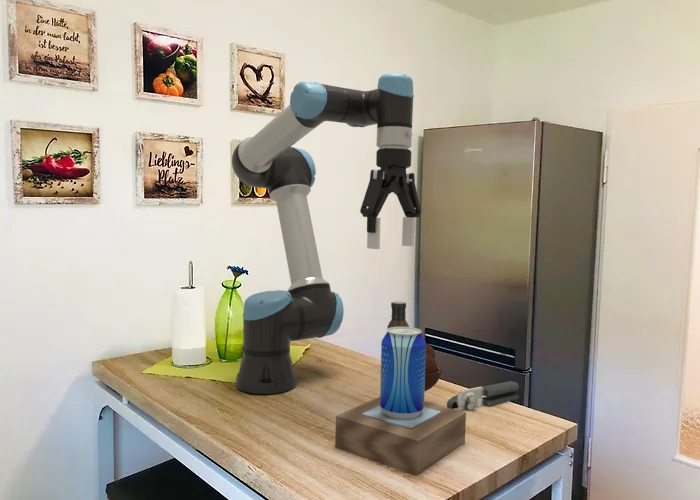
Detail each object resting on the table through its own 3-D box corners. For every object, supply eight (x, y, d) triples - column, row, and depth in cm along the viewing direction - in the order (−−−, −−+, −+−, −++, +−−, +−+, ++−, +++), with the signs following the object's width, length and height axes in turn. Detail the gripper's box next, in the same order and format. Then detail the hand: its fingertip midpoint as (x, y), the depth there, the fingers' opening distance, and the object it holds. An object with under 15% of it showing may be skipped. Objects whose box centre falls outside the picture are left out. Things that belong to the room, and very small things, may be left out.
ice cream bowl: (390, 400, 136) (392, 337, 135) (438, 401, 136) (440, 339, 135) (392, 416, 126) (394, 348, 125) (444, 418, 125) (446, 350, 124)
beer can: (422, 422, 106) (424, 336, 104) (376, 418, 107) (378, 333, 106) (425, 407, 114) (427, 327, 113) (382, 403, 115) (385, 324, 114)
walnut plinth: (335, 446, 109) (335, 414, 109) (388, 420, 124) (388, 391, 123) (417, 475, 98) (418, 439, 98) (464, 442, 113) (466, 410, 112)
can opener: (461, 416, 128) (461, 393, 127) (442, 407, 133) (443, 385, 133) (523, 403, 137) (524, 382, 137) (504, 395, 142) (505, 375, 142)
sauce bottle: (414, 375, 157) (416, 302, 155) (396, 379, 153) (398, 304, 152) (398, 369, 162) (400, 299, 161) (381, 373, 158) (383, 301, 157)
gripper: (374, 142, 112) (372, 251, 114) (437, 153, 132) (434, 245, 133) (344, 144, 117) (342, 248, 118) (409, 154, 136) (407, 244, 138)
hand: (391, 247), depth 126 cm, fingers open, 13 cm apart
